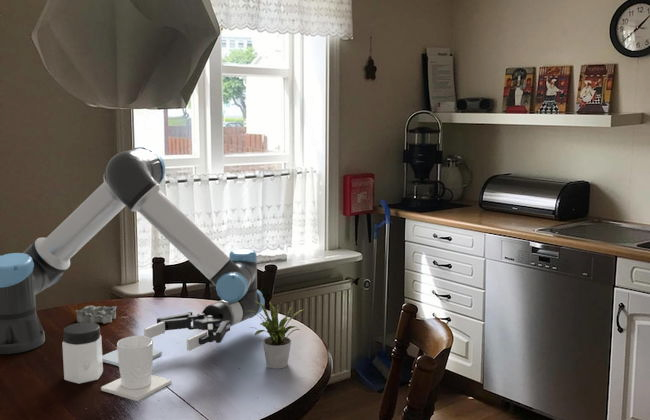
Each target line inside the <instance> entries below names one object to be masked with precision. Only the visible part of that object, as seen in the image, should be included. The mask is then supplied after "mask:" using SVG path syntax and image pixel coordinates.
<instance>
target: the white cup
mask: <svg viewBox="0 0 650 420" xmlns="http://www.w3.org/2000/svg"><path fill="white" fill-rule="evenodd" d="M116 350H117V351H118V362H119V366H118V369H119V374H120V375H119V376H120V378H121V385H122V386H123V387H124V388H127V389H140V388H144V387H146V386H148V385H150V384H151V380H152V375H153V374H152V373H153V365H154V363H153V361H154V359H153V350H154V339H153V338H150V337H146V336H144V335H133V336H126V337H124V338H121V339H119V340H118V341H117V343H116Z"/></svg>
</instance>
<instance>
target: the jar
mask: <svg viewBox="0 0 650 420" xmlns="http://www.w3.org/2000/svg"><path fill="white" fill-rule="evenodd" d="M62 330H63V331H62V333H63V334H62V335H63V341H62V343H61V344H62V346H61V347H62V360H63V376H64V377H63V379H64V380H65V381H67V382H71V383H75V384H83V383H84V384H85V383H89V382H94V381H97V380H99V378H100V377H101V376H102V374H103V372H104V366H103V365H104V364H103V363H104V362H103V359H102V356H103V344H102V343H103V342H102V335H101V328H100V325H99V324H98V323H91V322H84V323H79V322H77V323H76V322H75V323H72V324H70V325H67V326H65V327H64V328H63V329H62Z"/></svg>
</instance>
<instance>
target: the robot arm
mask: <svg viewBox="0 0 650 420" xmlns="http://www.w3.org/2000/svg"><path fill="white" fill-rule="evenodd" d="M165 174H166V164H165V161H164V159H163V158H162V156H161V154H159V153H158V152H157V151H155V150H154V149H152V148H149V147H144V146H143V147H142V146H141V147H140V146H139V147H134V148H132V149H130V150H124V151H121V152H119V153H117V154H114V155H113V157H111V158H110V160H109V161H108V163H107V165H106V168H105V172H104V174H103V182H102V183H101V184H100V185H99V186H98V187H97V188H96V189H95V190H94V191H93V192H92V193H91V194H90V195H89V196H88V197H87V198H86V199H85V200H84V201H83V202H81V204H79V206H78V207H77V208H76V209H75V210H73V212H72V213H71V214H69V215H68V217H66V218H65V219H64V220H63V221H62V222H61V223H60V224H59V225H58V226H57V227H56V228H55V229H54V230H53V231H51V233H50V234H49V235H47V237H38V238H36V240H34V242H33V243H31V244H30V245H29V246H28V247H27V248H26V249H25V250H24V251H23V252H13V253H11V252H10V253H6V254H3V255H0V355H11V354H12V355H13V354H19V353H24V352H28V351H31V350H34V349H37V348H38V347H40V346H42V345H43V344H44V343H45V342H46V336H45V330H44V328H43V326H42V324H41V321H40V318H39V317H38V315H37V307H36V306H37V303H36V295H38V294H40V293H41V292H42V291H45V290H46V289H48V288H50V287H52V286H53V285H55V284H56V283H57V282H58V281H60V280H61V277H62V276H63V274H64V272H66V271H67V270H68V269H69V267H70V266H71V258H72V257H74V256H75V255H76V254H77V253H78V252H79V251H80V250H81V249H82V248H83V247H84V246H85V245H87V243H88V242H90V240H92V239H93V237H95V236H96V235H97V234H98V233H99V232H100V231H101V230H102V229H103V228H104V227H106V226H107V224H108V223H109V222H110V221H111V220H112V219H114V217H116V216H117V215H118V214H119V213H120V212H121V211H122V210H123V209H124V208H125V207H127V208H128V209H129V211H131V212H138V213H139V214H140V215H141V216H142V217H143V218H144V219H145V220H146V221H147V222H148V223H149V224H151V225H152V226H153V227H154V229H156V230H157V231H158V232H159V234H161V235H162V236H163V237H164V238H165V239H166V240H167V241H168V242H170V244H171V245H172V246H173V247H175V248H176V250H177V251H179V253H181V254H182V256H184V257H185V259H187V260H188V261H189V262H190V263H191V264H192V265H193V266H194V267H195V268H196V269H198V271H200V273H201V274H203V275H204V276H205V278H207V279H208V280H209V281H210V282H211V283H212V284H213V285H214V286H215V290H216V294H217V296H218V297H219V298H220V300H218V301H216V302H214V303H211V304H209V305H206V306H205V308H204V309H203V310H202V312H201V313H198V314H193V312H192V311H187V312H185V313H181V314H175V315H169V316H163V317H158V318H156V323H155V324H153V325H150V326H148V327H146V328H144V329H143V336H146V337H150V338H151V339H153V338H154V337H157V336H160V335H162V334H165V332H166V331H171V330H172V331H175V330H183V329H188V330H189V331H190V330H199V331H200V330H201V331H202V332H200V333H197V334H196V335H193V336H190V337H189V338H187V339H186V351H189V352H190V351H192V350H194V349H197V348H198V347H200V346H203V345H206V344H207V343H214V341H215V343H216V344H220V343H221V342H222V341H223V339H224V338H225V336H226V333H228V332H230V331H231V327H233V326H235V325H237V324H240V323H241V322H244V321H246V320H248V319H252V318H254V317H256V316H257V315H258V314H259V313H260V314H261V312H262V311H263V308H262V307H261V306H260V305H259V304H258V303H257V302H259V303H260V304H262V305H263V306H264V307H265V303H266V302H265V301H266V300H265V298H264V296H263V293H262V291H260V290H259V289H258V260H257V259H258V258H257V252H256V251H255V250H252V249H249V248H240V249H239V248H238V249H233V250H232V251H230V252H229V255H227V254H226V253H225V252H223V250H222V249H220V248H219V246H218V245H216V244H215V243H214V242H213V241H212V240H211V239H210V237H209V236H207V235H206V234H205V233H204V231H202V230H201V229H200V228H199V227H198V226H197V225H196V224H195V223H194V222H193V221H192V220H191V219H190V218H189V217H188V216H187V215H185V213H183V212H182V211H181V209H180V208H178V207H177V206H176V205H175V204H174V203H173V202H172V200H170V198H168V197H167V196H166V195H165V194H164V193H163V192H162V191H161V189H160V188H161V185H160V184H161V183H162V182H163V180H164V178H165ZM255 301H256V302H255ZM254 311H255V312H254ZM257 312H258V313H257ZM255 314H256V315H255Z"/></svg>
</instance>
